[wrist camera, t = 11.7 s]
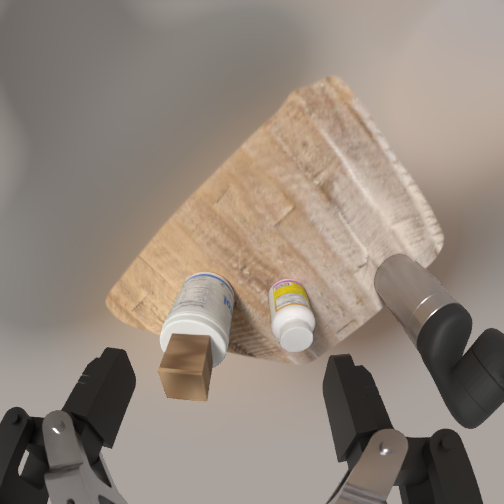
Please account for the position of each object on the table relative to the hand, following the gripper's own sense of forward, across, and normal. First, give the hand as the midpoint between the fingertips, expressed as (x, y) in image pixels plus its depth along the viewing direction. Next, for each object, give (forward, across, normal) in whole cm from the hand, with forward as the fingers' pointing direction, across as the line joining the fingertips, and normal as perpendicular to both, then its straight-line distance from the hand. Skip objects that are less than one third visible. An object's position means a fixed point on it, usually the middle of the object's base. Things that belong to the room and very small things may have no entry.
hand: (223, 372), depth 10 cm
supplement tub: (+34, +7, +17) cm, 39 cm away
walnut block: (+19, +7, +17) cm, 27 cm away
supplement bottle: (+34, -7, +17) cm, 39 cm away
